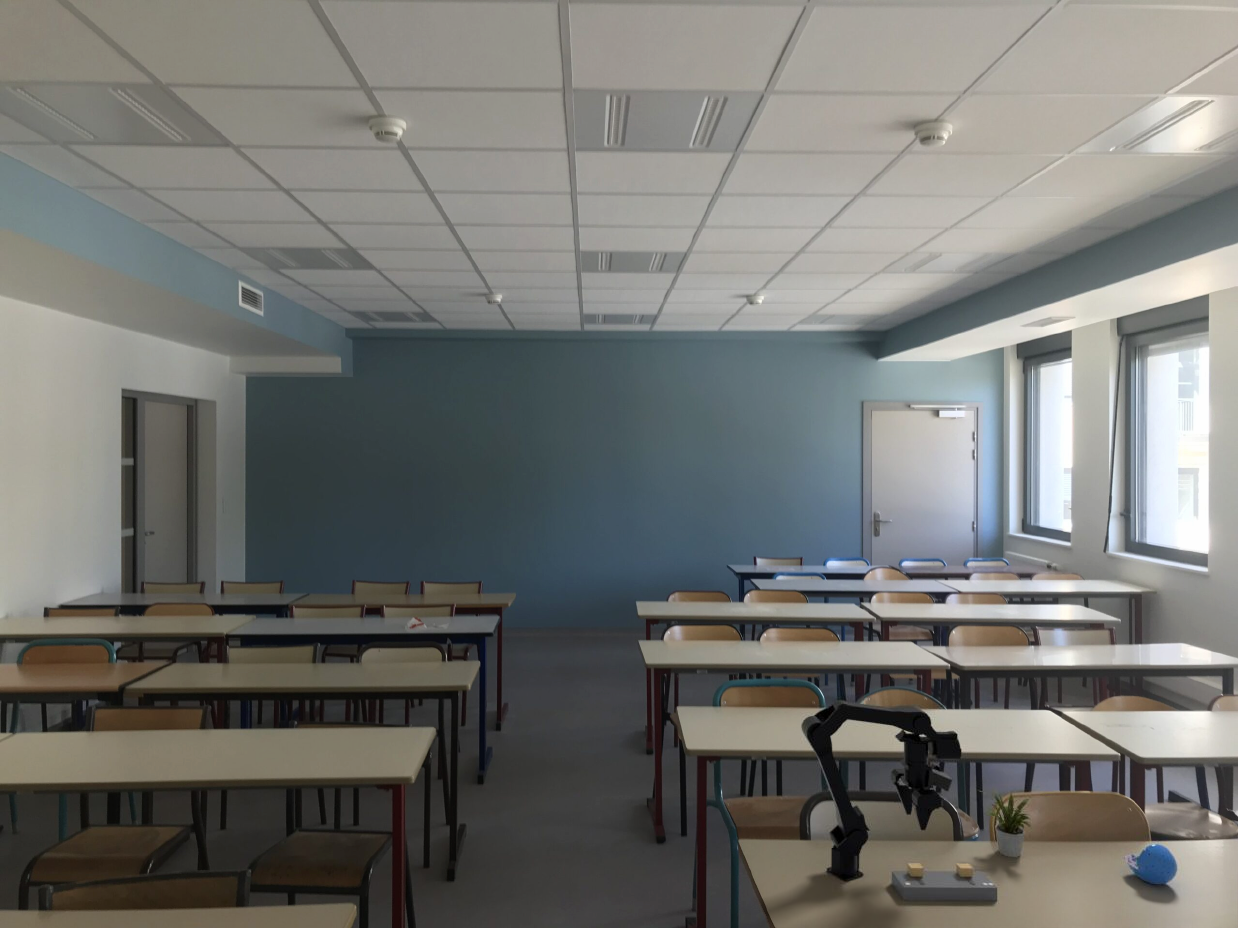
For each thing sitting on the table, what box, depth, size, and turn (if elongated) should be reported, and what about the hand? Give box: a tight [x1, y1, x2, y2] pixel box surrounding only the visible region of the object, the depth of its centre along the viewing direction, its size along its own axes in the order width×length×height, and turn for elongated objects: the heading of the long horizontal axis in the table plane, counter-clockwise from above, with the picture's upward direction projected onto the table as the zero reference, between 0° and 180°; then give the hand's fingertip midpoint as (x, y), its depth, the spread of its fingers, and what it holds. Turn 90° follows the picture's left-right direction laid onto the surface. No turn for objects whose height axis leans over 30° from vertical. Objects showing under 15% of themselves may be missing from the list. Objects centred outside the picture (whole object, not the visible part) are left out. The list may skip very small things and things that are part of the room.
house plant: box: [976, 789, 1033, 858], centre depth 214 cm, size 14×14×16 cm
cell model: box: [1123, 843, 1178, 885], centre depth 200 cm, size 10×12×10 cm
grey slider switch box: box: [891, 870, 998, 902], centre depth 193 cm, size 22×8×3 cm, turn 91°
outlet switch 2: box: [955, 863, 974, 877], centre depth 195 cm, size 3×2×2 cm
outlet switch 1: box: [906, 862, 924, 877], centre depth 195 cm, size 3×2×2 cm
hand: (915, 821), depth 201 cm, fingers open, 9 cm apart
